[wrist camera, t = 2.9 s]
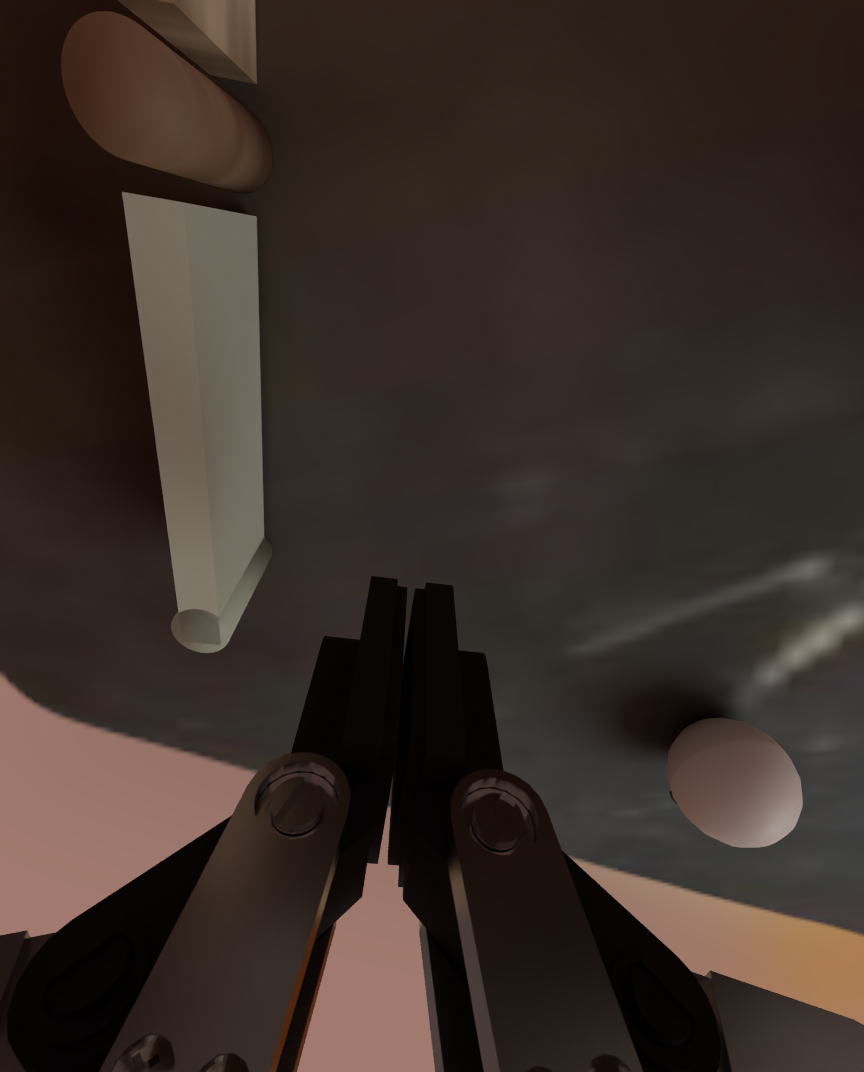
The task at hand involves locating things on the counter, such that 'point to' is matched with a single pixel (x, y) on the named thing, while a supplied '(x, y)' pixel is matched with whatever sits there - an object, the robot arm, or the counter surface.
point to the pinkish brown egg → (734, 782)
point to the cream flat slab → (203, 403)
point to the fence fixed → (170, 89)
